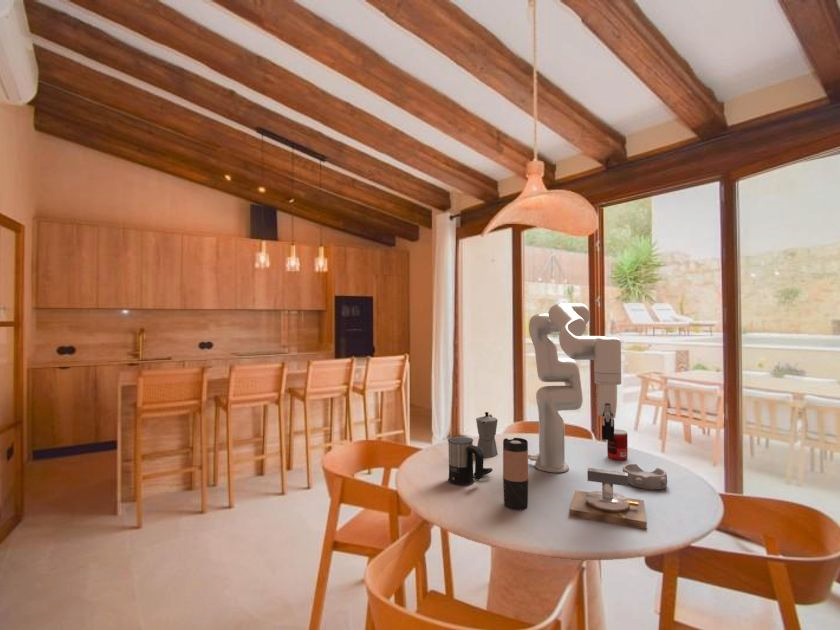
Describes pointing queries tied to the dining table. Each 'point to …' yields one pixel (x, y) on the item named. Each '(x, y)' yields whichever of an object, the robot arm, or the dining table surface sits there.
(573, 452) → the dining table surface
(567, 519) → the dining table surface
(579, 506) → the dial stand
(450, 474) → the milk frother
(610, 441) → the canned food
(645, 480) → the dish
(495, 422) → the coffeepot
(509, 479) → the travel mug
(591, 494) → the door handle
